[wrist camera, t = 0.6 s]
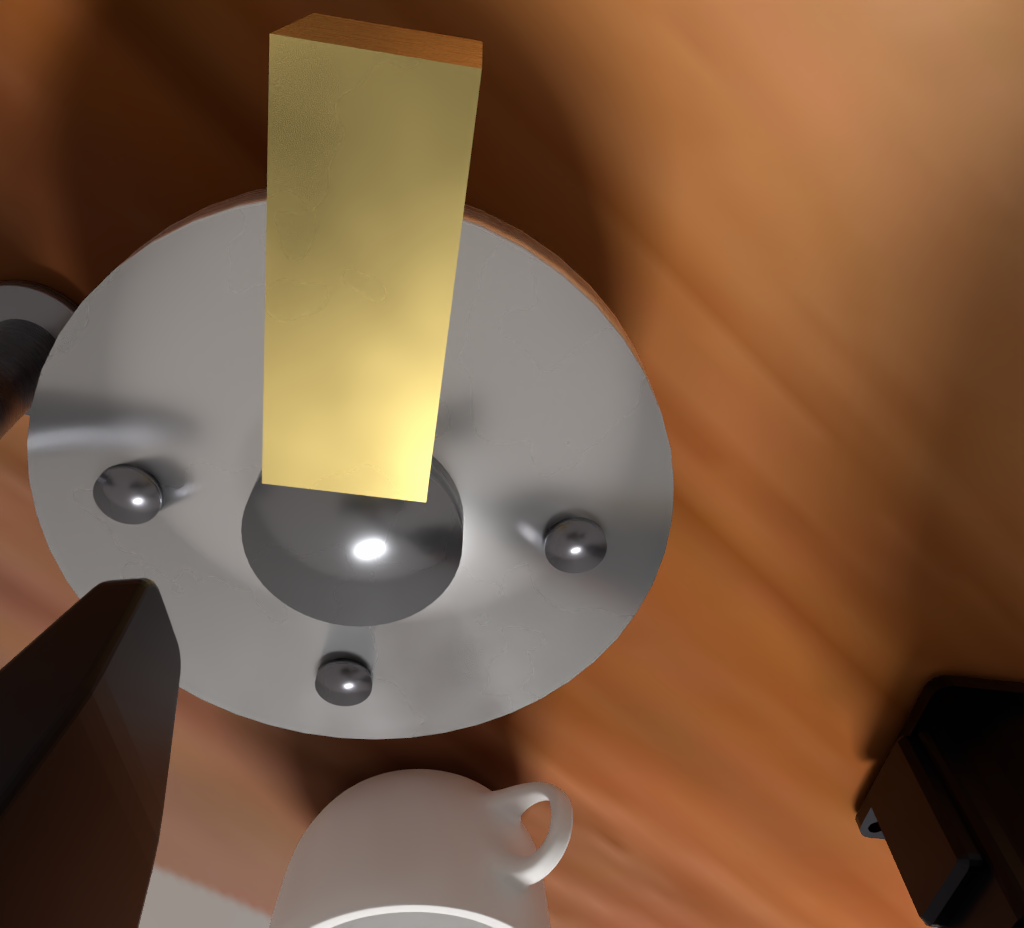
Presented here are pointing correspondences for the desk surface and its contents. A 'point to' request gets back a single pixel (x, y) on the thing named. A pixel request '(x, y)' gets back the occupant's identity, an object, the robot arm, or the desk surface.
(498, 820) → the teacup
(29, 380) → the flanged pin
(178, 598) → the flange plate
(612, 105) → the desk surface
